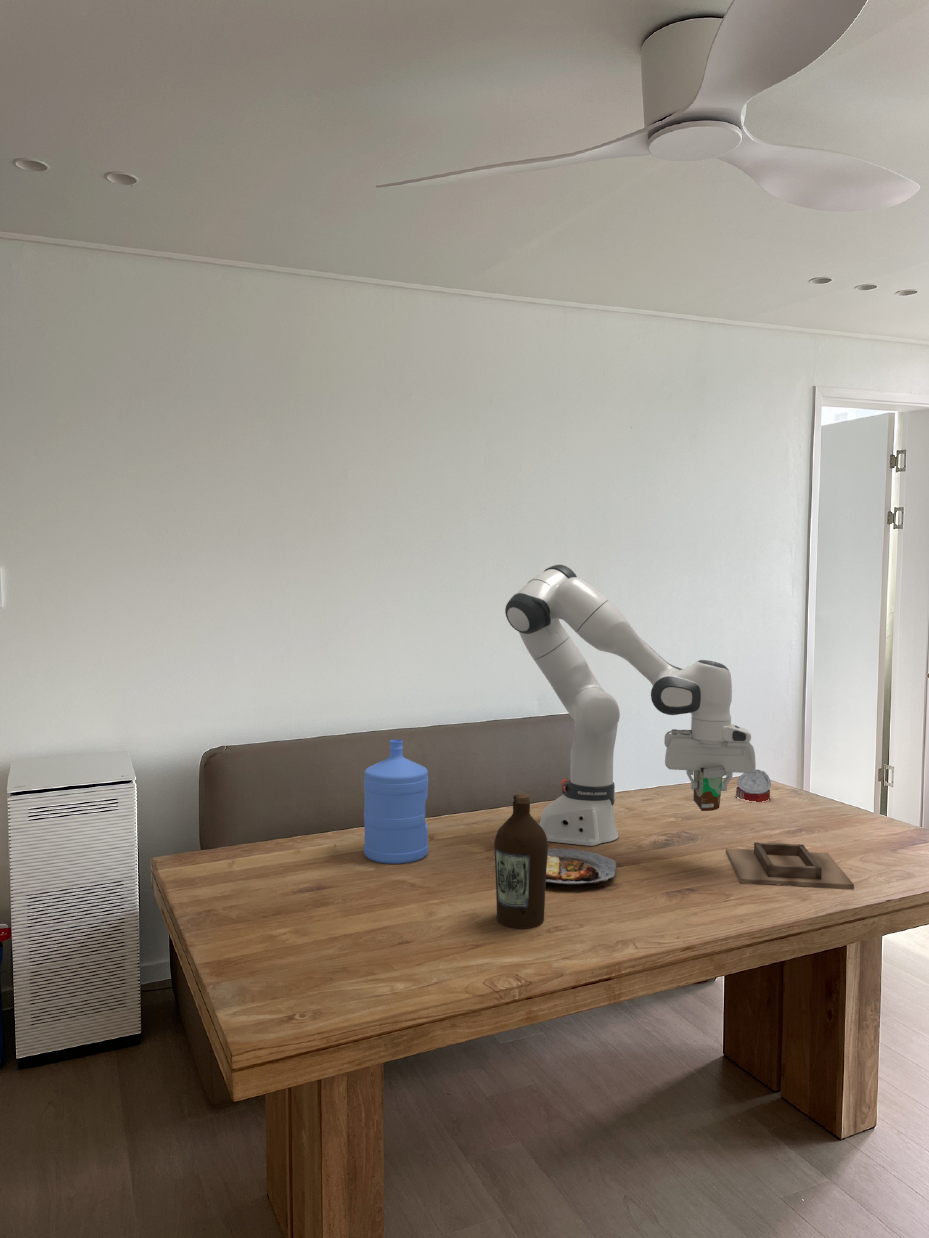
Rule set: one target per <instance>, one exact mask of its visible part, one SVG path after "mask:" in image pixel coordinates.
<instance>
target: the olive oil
mask: <svg viewBox="0 0 929 1238" xmlns="http://www.w3.org/2000/svg"><path fill="white" fill-rule="evenodd" d="M530 812H531V802H530V795H529V794H527V793H516V794H514V795H513V801H512V814H511V815H510V816H509V818H507V820H506V821H505V822H504V823H503V824H502V825H501V826H500V827H499V828H498V830H497V831H496V834H495V838H494V843H493V845H494V846H493V847H494V867H495V869H494V870H495V889H496V890H495V892H496V893H495V896H496V920H497V922H499V924H501V925H503V926H506V927H509V928H513V929H514V928H516V929H532V928H535V927H538V926H540V925H542V924H543V922H544V921H545V905H546V884H547V882H546V869H547V854H548V849H549V841H547V837H546V834H545V832H544V830H543V829H542V827H541V826H540V825H539V824H538V823H539V822H537V821H536V820H535V818H534V817H533V816H532V815H531V813H530Z"/></svg>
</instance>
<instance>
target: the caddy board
mask: <svg viewBox="0 0 929 1238" xmlns="http://www.w3.org/2000/svg"><path fill="white" fill-rule="evenodd" d="M753 845H754V846H753V849H749V848H747V849H746V848H729V847H727V848H725V854H726V853H727V854H726V856H727V855H728V856H727V858H728V859H729V862H730V864H731V867H732V868H733V870H734V872H735V875H736V874H737V875H736V877H737V876H738V877H737V879H738V881H739V880H740V881H739V883H740V882H741V883H740V884H745V883H752V884H751V885H765V884H780V885H779V886H784V885H791V886H790V887H803V886H806V887H805V888H807V887H808V886H810V887H808V888H823V887H833V888H832V889H842V888H846V889H847V890H854V889H855V884H854V883H853V881H852V880H851V879H850V878H849V877H848V875H847V874H846V873H845V872H844V871H843V869H841V867H840V866H839V865H838V863H836V861H835V860H834V859H833V858H832V856H831V855H830V854H829V853H828V852H812V851H809V850H808V849H807V848H806V847H805V845H804V844H800V843H799V844H798V843H778V842H777V843H776V842H774V843H773V842H756V841H755V842H754V843H753Z"/></svg>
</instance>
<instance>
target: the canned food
mask: <svg viewBox="0 0 929 1238" xmlns="http://www.w3.org/2000/svg"><path fill="white" fill-rule="evenodd" d="M736 783H737V787H736V789H735V791H736V792H735V797H736V796H737V797H739V798H740V799H745V800H749V801H756V802H762V801H766V800H768V799H770V800H771V787H772V780H771V778H770V776H769V774H767V772H765V771H764V770H761V769H756V768H755V770H754V771H753V772H752V773H741V775H739V777H738V779H737V781H736Z"/></svg>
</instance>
